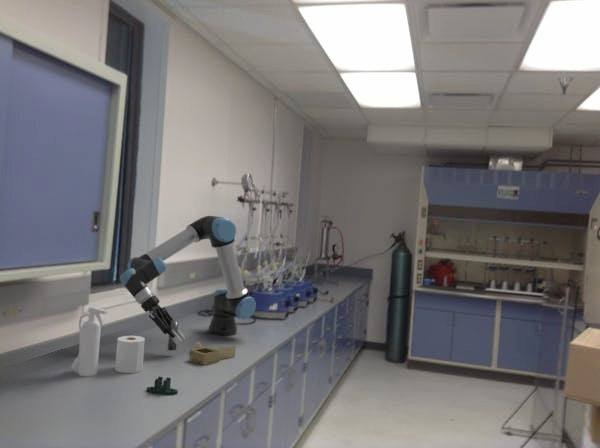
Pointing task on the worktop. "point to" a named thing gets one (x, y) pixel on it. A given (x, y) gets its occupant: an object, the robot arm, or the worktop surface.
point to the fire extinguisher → (89, 342)
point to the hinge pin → (171, 343)
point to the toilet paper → (129, 354)
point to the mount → (162, 387)
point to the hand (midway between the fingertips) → (181, 341)
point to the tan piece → (210, 354)
